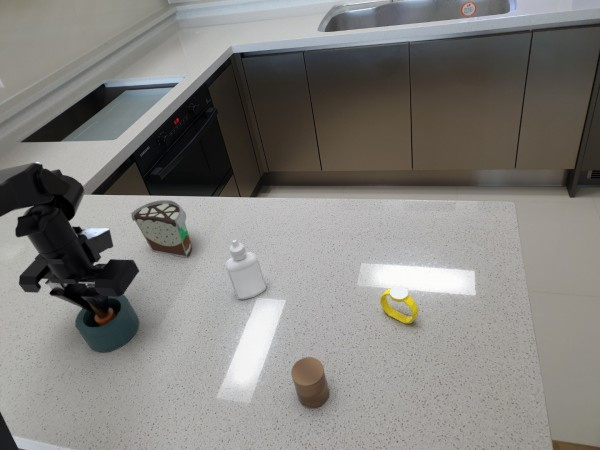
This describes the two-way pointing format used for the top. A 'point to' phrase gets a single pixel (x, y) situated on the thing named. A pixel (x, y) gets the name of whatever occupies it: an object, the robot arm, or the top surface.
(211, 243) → the top surface
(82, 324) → the teal hollow cylinder
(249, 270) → the eye dropper bottle
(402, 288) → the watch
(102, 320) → the brown peg with discs
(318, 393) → the stand
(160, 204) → the cake slice
